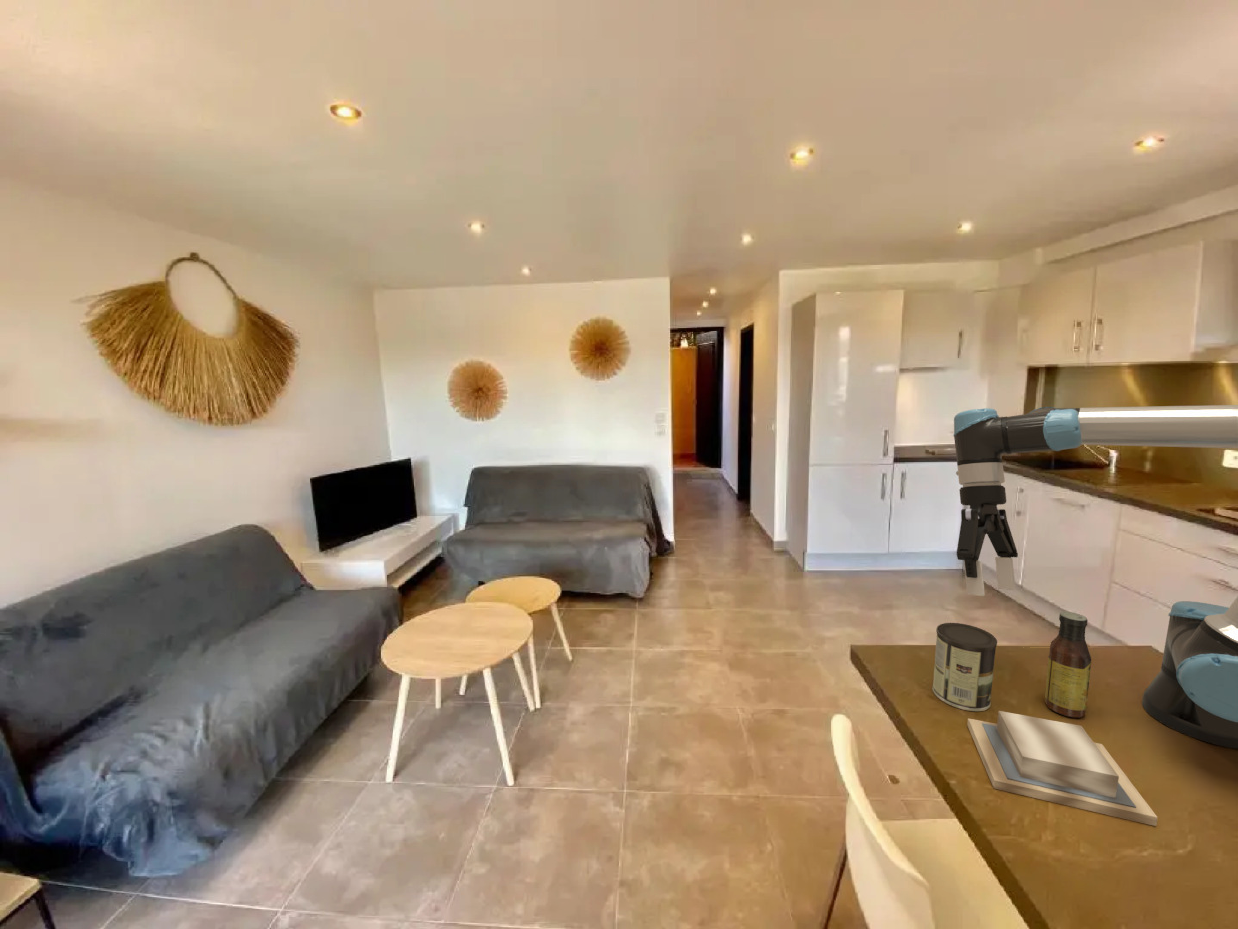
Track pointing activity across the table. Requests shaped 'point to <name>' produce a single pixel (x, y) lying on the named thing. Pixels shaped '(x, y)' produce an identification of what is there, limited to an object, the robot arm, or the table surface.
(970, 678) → the coffee can
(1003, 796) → the table surface
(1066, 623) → the sauce bottle
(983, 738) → the plate
